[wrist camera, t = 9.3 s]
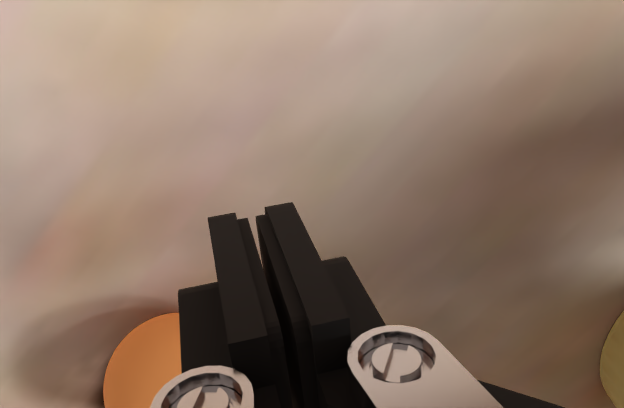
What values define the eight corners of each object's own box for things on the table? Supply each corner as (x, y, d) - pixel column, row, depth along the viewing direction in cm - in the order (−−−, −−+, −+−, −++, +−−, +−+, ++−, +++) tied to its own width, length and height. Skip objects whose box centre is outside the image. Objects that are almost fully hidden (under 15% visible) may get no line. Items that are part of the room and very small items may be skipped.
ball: (254, 425, 28) (274, 312, 27) (204, 512, 22) (227, 373, 21) (141, 391, 29) (155, 279, 28) (66, 465, 23) (79, 329, 22)
